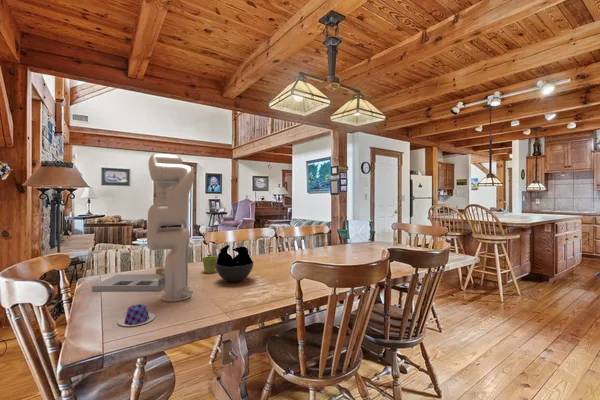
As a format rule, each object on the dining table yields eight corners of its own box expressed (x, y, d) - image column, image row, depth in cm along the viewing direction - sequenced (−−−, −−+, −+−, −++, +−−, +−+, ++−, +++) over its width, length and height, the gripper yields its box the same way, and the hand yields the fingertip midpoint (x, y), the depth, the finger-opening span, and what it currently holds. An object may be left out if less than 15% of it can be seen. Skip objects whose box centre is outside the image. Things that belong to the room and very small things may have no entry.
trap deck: (176, 278, 164) (176, 268, 164) (160, 290, 143) (160, 279, 143) (117, 278, 162) (117, 268, 162) (91, 291, 141) (91, 279, 141)
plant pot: (201, 270, 181) (201, 256, 181) (217, 269, 184) (217, 255, 184) (201, 274, 172) (201, 259, 172) (218, 273, 175) (218, 259, 175)
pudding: (156, 323, 107) (156, 309, 107) (117, 331, 101) (117, 315, 101) (154, 312, 118) (154, 299, 118) (118, 318, 112) (118, 304, 112)
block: (167, 275, 161) (167, 266, 161) (166, 277, 156) (166, 268, 156) (157, 276, 160) (157, 266, 160) (155, 278, 155) (155, 268, 155)
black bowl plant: (257, 284, 154) (257, 248, 154) (217, 288, 147) (217, 250, 146) (249, 274, 173) (249, 242, 172) (213, 278, 165) (213, 244, 165)
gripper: (179, 196, 173) (179, 227, 174) (153, 196, 173) (153, 227, 173) (174, 196, 166) (174, 229, 166) (147, 196, 165) (147, 229, 166)
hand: (163, 228), depth 170 cm, fingers closed
